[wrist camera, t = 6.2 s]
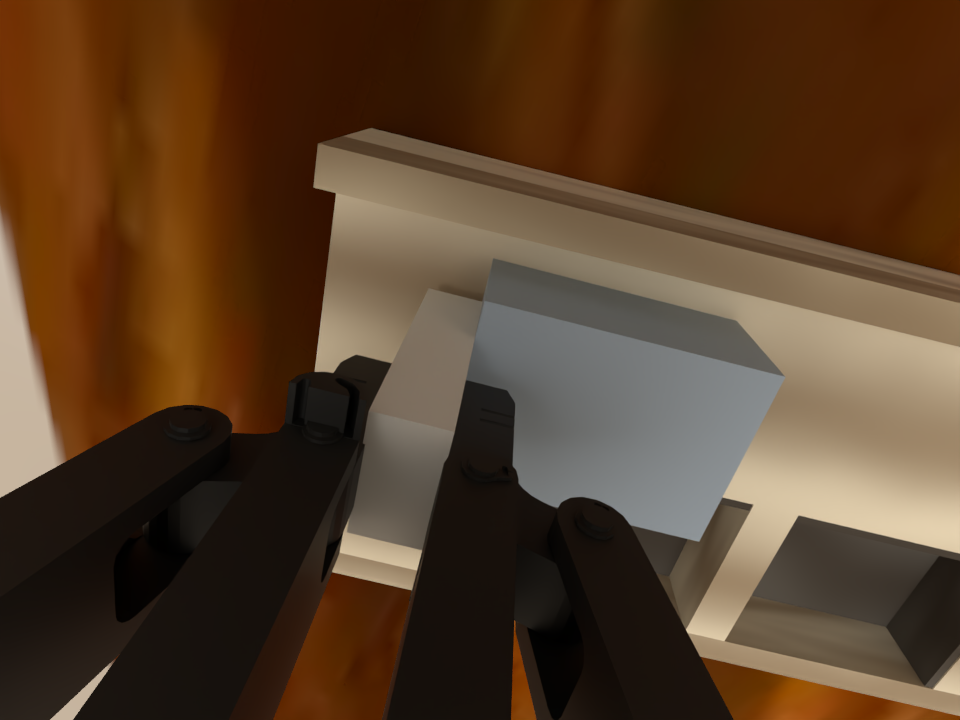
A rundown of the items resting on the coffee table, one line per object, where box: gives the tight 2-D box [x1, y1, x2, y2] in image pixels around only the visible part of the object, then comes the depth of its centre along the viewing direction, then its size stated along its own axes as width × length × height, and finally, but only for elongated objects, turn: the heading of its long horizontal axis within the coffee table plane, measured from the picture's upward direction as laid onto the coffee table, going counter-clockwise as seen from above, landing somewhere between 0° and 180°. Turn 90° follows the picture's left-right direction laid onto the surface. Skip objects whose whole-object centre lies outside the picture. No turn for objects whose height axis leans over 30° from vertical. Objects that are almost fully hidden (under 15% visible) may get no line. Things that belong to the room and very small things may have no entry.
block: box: [466, 258, 785, 542], centre depth 16 cm, size 5×7×4 cm
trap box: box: [313, 128, 960, 716], centre depth 19 cm, size 15×29×5 cm, turn 77°
